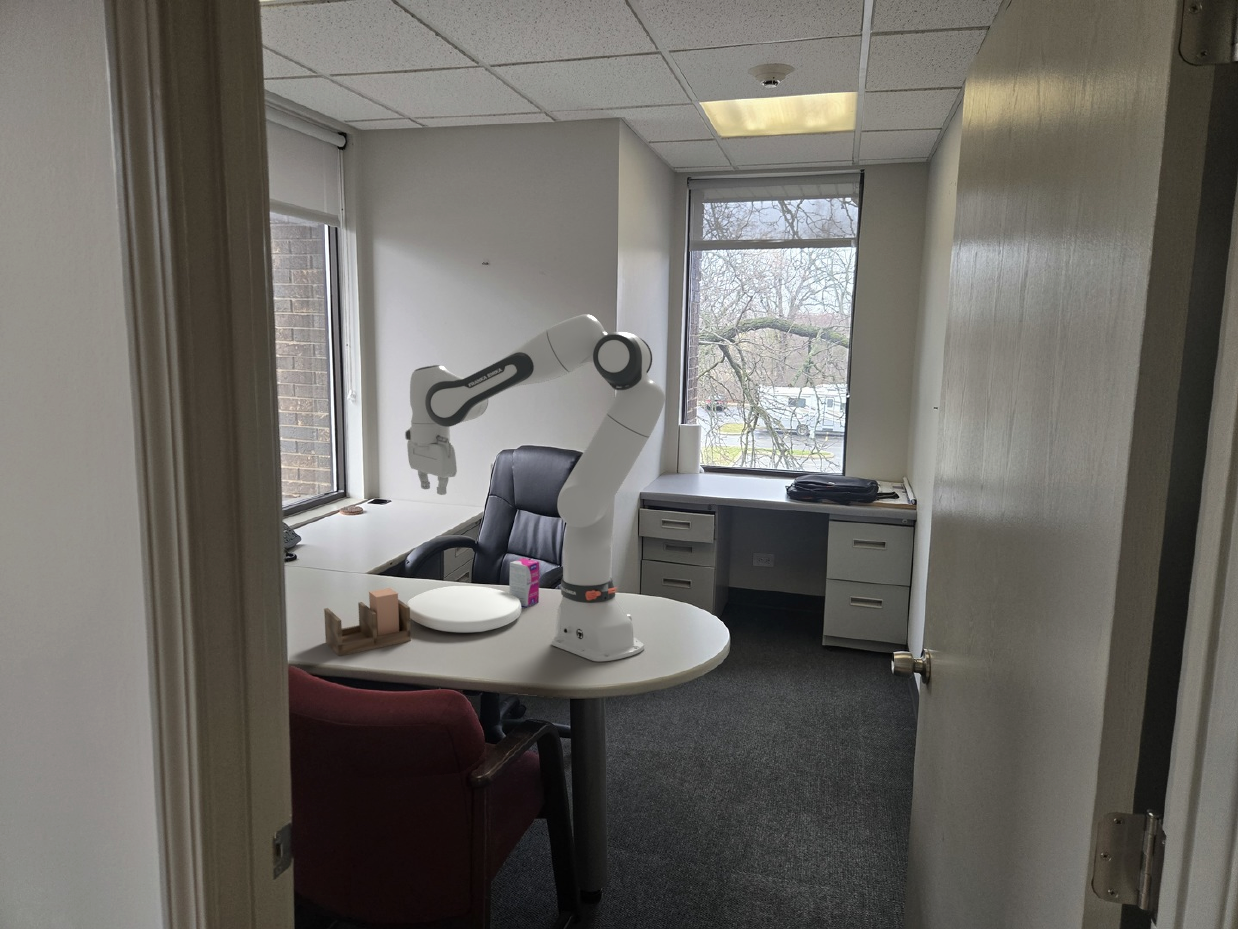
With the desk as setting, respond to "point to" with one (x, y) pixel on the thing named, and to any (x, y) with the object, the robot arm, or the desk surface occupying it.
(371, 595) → the terracotta block
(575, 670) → the desk surface
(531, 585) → the supplement box
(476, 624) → the plate
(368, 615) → the desk organiser
